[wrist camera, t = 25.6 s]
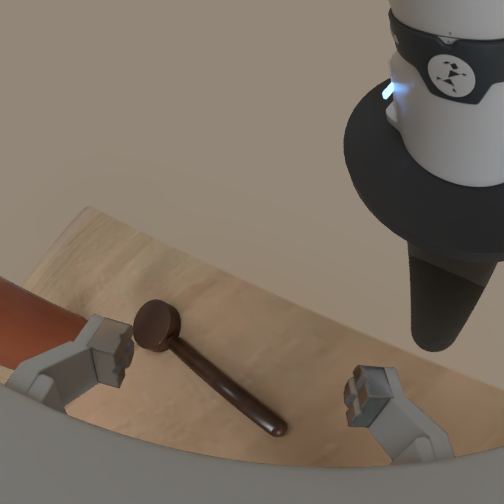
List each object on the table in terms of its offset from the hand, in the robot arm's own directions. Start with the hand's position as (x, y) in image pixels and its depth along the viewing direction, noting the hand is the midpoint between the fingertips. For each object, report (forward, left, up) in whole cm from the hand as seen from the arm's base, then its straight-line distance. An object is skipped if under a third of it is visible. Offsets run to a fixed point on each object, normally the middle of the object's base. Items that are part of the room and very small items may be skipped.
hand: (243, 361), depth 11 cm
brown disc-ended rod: (+5, -12, -16) cm, 21 cm away
